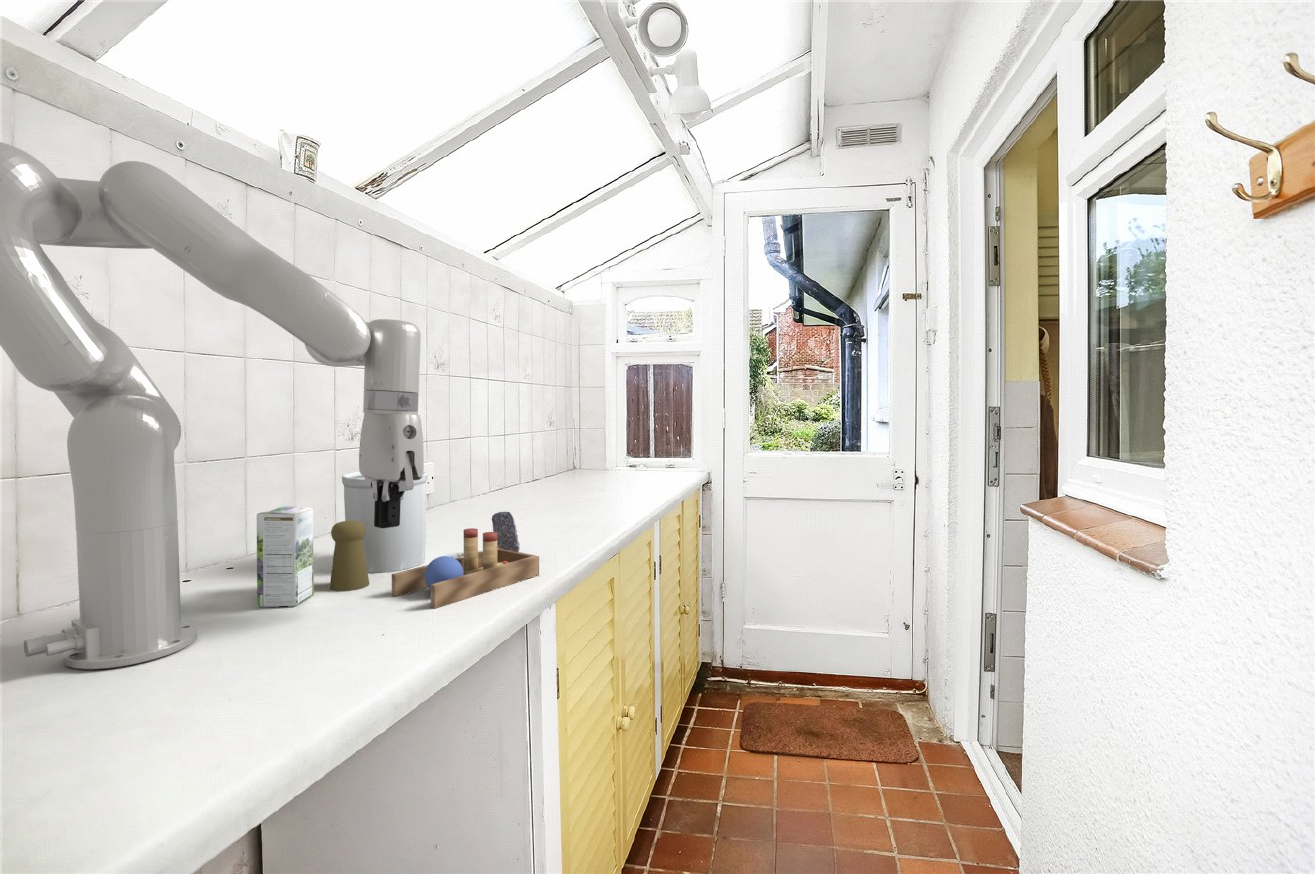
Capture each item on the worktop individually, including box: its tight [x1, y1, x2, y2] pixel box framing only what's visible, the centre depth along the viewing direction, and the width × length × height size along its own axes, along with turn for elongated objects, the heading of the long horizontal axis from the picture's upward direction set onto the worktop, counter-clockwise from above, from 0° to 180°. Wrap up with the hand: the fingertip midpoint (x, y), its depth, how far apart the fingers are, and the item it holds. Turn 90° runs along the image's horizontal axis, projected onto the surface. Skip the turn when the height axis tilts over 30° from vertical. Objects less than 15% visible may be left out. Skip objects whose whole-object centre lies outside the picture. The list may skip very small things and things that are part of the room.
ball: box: [424, 555, 463, 590], centre depth 100 cm, size 6×6×6 cm
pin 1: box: [463, 527, 479, 572], centre depth 108 cm, size 2×2×9 cm
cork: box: [329, 520, 370, 592], centre depth 103 cm, size 6×6×11 cm
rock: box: [491, 511, 521, 552], centre depth 123 cm, size 12×5×10 cm, turn 20°
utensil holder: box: [341, 470, 428, 574], centre depth 118 cm, size 15×15×18 cm
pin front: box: [463, 561, 509, 575], centre depth 108 cm, size 2×2×9 cm
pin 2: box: [482, 531, 497, 570], centre depth 105 cm, size 2×2×9 cm
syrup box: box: [256, 505, 314, 608], centre depth 95 cm, size 6×6×14 cm
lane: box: [391, 548, 540, 609], centre depth 105 cm, size 22×11×4 cm, turn 146°
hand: (386, 526), depth 92 cm, fingers closed
